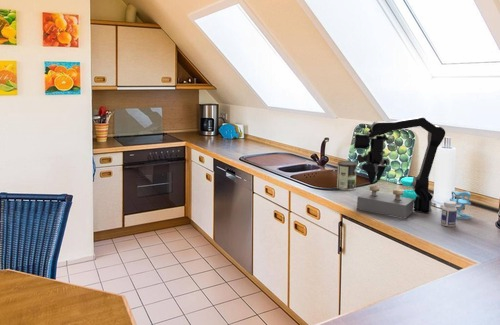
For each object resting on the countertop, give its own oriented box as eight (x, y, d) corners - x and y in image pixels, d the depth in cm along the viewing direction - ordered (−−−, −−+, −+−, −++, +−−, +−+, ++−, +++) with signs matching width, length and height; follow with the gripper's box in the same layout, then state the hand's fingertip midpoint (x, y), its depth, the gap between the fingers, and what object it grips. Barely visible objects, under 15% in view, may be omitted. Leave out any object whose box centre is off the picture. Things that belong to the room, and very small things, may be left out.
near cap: (403, 204, 196) (404, 189, 195) (400, 206, 193) (401, 192, 192) (394, 202, 199) (395, 188, 198) (390, 204, 196) (391, 190, 194)
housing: (412, 211, 198) (413, 199, 197) (404, 218, 189) (405, 205, 188) (366, 202, 211) (367, 191, 210) (356, 208, 202) (357, 196, 201)
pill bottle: (456, 224, 183) (458, 201, 181) (454, 228, 178) (457, 204, 176) (441, 221, 185) (443, 199, 183) (439, 225, 181) (441, 202, 179)
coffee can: (354, 185, 242) (356, 161, 239) (356, 190, 232) (357, 165, 229) (336, 185, 244) (337, 160, 241) (336, 189, 234) (338, 164, 231)
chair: (463, 213, 197) (465, 187, 194) (471, 219, 189) (474, 192, 186) (445, 213, 197) (448, 187, 195) (453, 219, 189) (456, 192, 186)
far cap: (380, 199, 203) (380, 186, 201) (376, 201, 199) (377, 188, 198) (371, 198, 205) (371, 184, 204) (367, 200, 202) (368, 186, 201)
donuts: (400, 176, 224) (420, 177, 221) (398, 194, 226) (418, 196, 223) (402, 180, 214) (423, 182, 212) (400, 200, 216) (421, 201, 214)
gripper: (368, 144, 210) (366, 175, 213) (351, 150, 195) (350, 183, 199) (390, 147, 203) (388, 179, 206) (375, 153, 189) (373, 187, 192)
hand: (374, 182), depth 201 cm, fingers open, 8 cm apart
